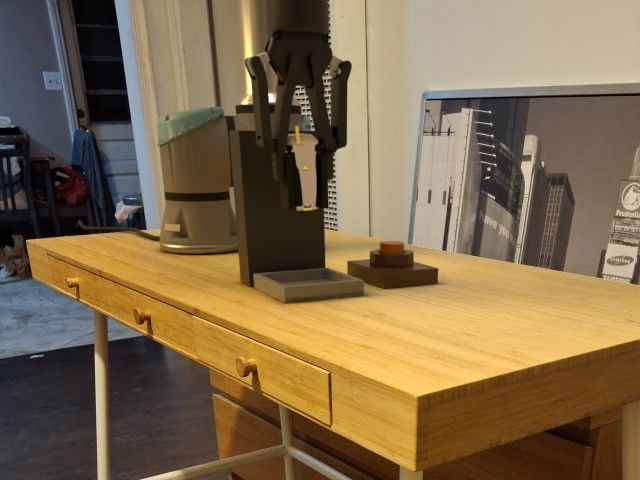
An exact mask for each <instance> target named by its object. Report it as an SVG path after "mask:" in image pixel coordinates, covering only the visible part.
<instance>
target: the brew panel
mask: <svg viewBox="0 0 640 480" xmlns="http://www.w3.org/2000/svg"><path fill="white" fill-rule="evenodd" d="M414 257H415V252H414V250H410V249H406V248H404V253H402V254H384V253H380V248H379V249H378V248H376V249H372V250H370V251H369V259H368V258H366V259H353V260H347V261H346V268H347V269H346V272H347V273H346V274H347V275H350V276H353V277H356V278H359V279H362V280H364V283H367V284H370V285H373V286H376V287H378V288H381V289H385V290H386V289H396V288H406V287H417V286H426V285H427V286H428V285H437V284H439V267H435V266H432V265H428V264H424V263H422V262H417V261H414V259H415V258H414Z"/></svg>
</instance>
